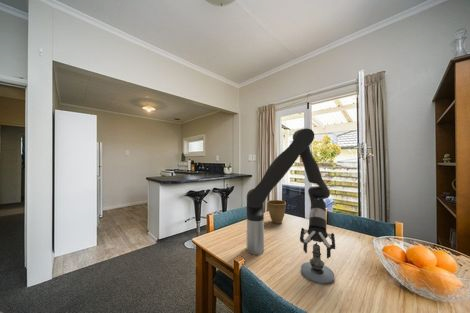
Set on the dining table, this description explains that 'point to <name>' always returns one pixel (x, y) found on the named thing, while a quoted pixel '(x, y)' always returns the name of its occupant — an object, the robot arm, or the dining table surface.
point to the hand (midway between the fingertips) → (316, 255)
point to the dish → (317, 278)
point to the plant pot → (276, 210)
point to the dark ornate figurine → (316, 260)
